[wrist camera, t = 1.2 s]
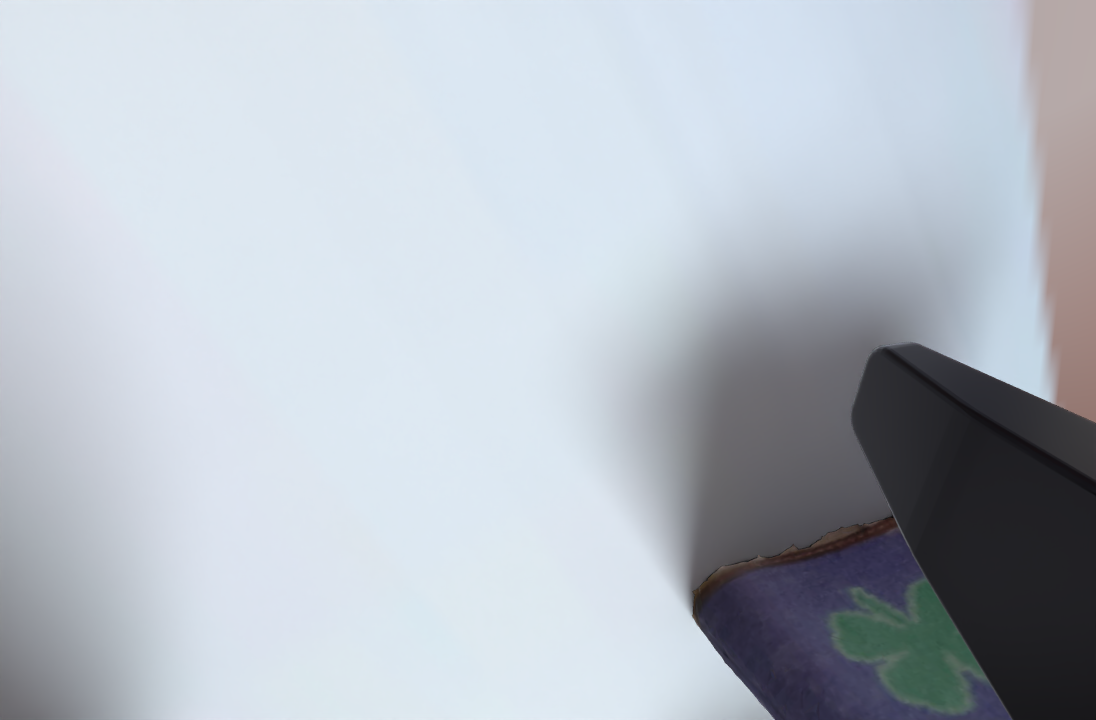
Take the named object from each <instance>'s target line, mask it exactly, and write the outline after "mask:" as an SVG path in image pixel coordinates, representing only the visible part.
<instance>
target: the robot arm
mask: <svg viewBox="0 0 1096 720" xmlns="http://www.w3.org/2000/svg"><path fill="white" fill-rule="evenodd" d="M851 422H852V427H853V431H854V433H855V436H856V438H857V440H858V442H859V444H860V446H861V449H862V451H863V453H864V455H865V457H866V459H867V461H868V463H869V466H870V468H871V470H872V472H873V474H874V476H875V478H876V480H877V482H878V485H879V487H880V489H881V491H882V493H883V495H884V497H885V499H886V501H887V504H888V506H889V508H890V510H891V512H892V514H893V516H894V518H895V520H896V523H897V525H898V527H899V529H900V531H901V533H902V535H903V537H904V539H905V541H906V543H907V545H908V547H909V549H910V551H911V553H912V555H913V557H914V559H915V560H916V562H917V564H918V566H919V567H920V569H921V571H922V572H923V574H924V576H925V578H926V579H927V581H928V583H929V584H930V586H931V588H932V589H933V591H934V592H935V594H936V596H937V597H938V599H939V601H940V602H941V604H942V606H943V607H944V609H945V611H946V612H947V614H948V616H949V617H950V619H951V621H952V622H953V624H954V625H955V627H956V629H957V630H958V632H959V634H960V635H961V637H962V639H963V640H964V642H965V644H966V645H967V647H968V649H969V650H970V652H971V653H972V655H973V657H974V658H975V660H976V662H977V663H978V665H979V667H980V668H981V670H982V672H983V673H984V675H985V677H986V678H987V680H988V681H989V683H990V685H991V686H992V688H993V690H994V691H995V693H996V695H997V696H998V698H999V700H1000V701H1001V703H1002V705H1003V706H1004V708H1005V709H1006V711H1007V713H1008V714H1009V716H1010V718H1011V719H1012V720H1096V423H1095V422H1093V421H1090V420H1088V419H1086V418H1084V417H1081V416H1079V415H1077V414H1075V413H1072V412H1070V411H1068V410H1066V409H1064V408H1061V407H1059V406H1057V405H1055V404H1052V403H1050V402H1048V401H1046V400H1043V399H1041V398H1039V397H1037V396H1034V395H1032V394H1030V393H1028V392H1025V391H1023V390H1021V389H1019V388H1016V387H1014V386H1012V385H1010V384H1007V383H1005V382H1003V381H1001V380H998V379H996V378H994V377H992V376H989V375H987V374H985V373H983V372H980V371H978V370H976V369H974V368H971V367H969V366H967V365H965V364H962V363H960V362H958V361H956V360H953V359H951V358H949V357H947V356H944V355H942V354H940V353H938V352H935V351H933V350H931V349H929V348H926V347H924V346H922V345H920V344H917V343H913V342H904V343H897V344H891V345H884V346H879V347H877V348H875V349H874V350H873V351H872V352H871V353H870V355H869V356H868V358H867V361H866V364H865V367H864V370H863V374H862V377H861V380H860V383H859V386H858V389H857V392H856V395H855V399H854V402H853V405H852V409H851Z"/></svg>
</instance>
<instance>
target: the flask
mask: <svg viewBox="0 0 1096 720" xmlns="http://www.w3.org/2000/svg"><path fill="white" fill-rule="evenodd" d="M693 593H694V595H695V596H694V606H693V615H692V616H693V618H694V620H695V621H696V623H697V625H698V626H699V627H700V629H701V631H702V632H703V633H704V634H705V635H706V637H707V638H708V639H709V641H710V642H711V644H712V645H713V647H714V648H715V649H716V651H717V652H718V653H719V654H720V655H721V657H722V658H723V660H724V662H725V663H726V664H727V665H728V666H729V667H730V668H731V669H732V670H733V672H734V673H735V674H736V675H737V676H738V677H739V678H740V679H741V680H742V682H743V683H744V684H745V685H746V686H747V687H748V689H749V690H750V691H751V692H752V693H753V694H754V696H755V697H756V698H757V699H758V701H759V702H760V703H761V704H762V705H763V706H764V707H765V708H766V710H767V711H768V712H769V713H770V714H771V715H772V717H773V718H774V719H775V720H1012V719H1011V718H1010V716H1009V714H1008V713H1007V711H1006V709H1005V708H1004V706H1003V705H1002V703H1001V701H1000V700H999V698H998V696H997V695H996V693H995V691H994V690H993V688H992V686H991V685H990V683H989V681H988V680H987V678H986V677H985V675H984V673H983V672H982V670H981V668H980V667H979V665H978V663H977V662H976V660H975V658H974V657H973V655H972V653H971V652H970V650H969V649H968V647H967V645H966V644H965V642H964V640H963V639H962V637H961V635H960V634H959V632H958V630H957V629H956V627H955V625H954V624H953V622H952V621H951V619H950V617H949V616H948V614H947V612H946V611H945V609H944V607H943V606H942V604H941V602H940V601H939V599H938V597H937V596H936V594H935V592H934V591H933V589H932V588H931V586H930V584H929V583H928V581H927V579H926V578H925V576H924V574H923V572H922V571H921V569H920V567H919V566H918V564H917V562H916V560H915V559H914V557H913V555H912V553H911V551H910V549H909V547H908V545H907V543H906V541H905V539H904V537H903V535H902V533H901V531H900V529H899V527H898V525H897V523H896V520H895V518H894V517H893V518H891V517H889V518H887V519H885V520H879V521H877V522H873V523H871V524H865V523H864V524H863V526H862V525H861V526H859V525H858V524H857V525H853V526H851V527H848V528H843V527H841V528H840V529H839V530H837V531H835V532H829V533H827V534H826V535H825V536H824V537H823V536H822V538H821V540H818V541H817V542H816V543H814V544H813V545H811V547H809V548H807V549H799V550H798V548H796V547H795V546H794V544H793V545H792V546H791V547H790V548H789V549H786V551H784V552H783V553H782V554H780V555H779V556H775V557H772V558H767V557H760V555H758V558H756V559H753V560H750V561H749V562H741V563H738V564H734V565H728V566H726V565H725V566H722V567H720V568H719V569H718V570H717V571H716V573H715V572H714V573H713V574H712V575H711V576H710V577H709V578H708V581H705V582H703V584H702V585H701V586H700V587H699V588H698V589H696V590H694V591H693Z"/></svg>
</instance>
